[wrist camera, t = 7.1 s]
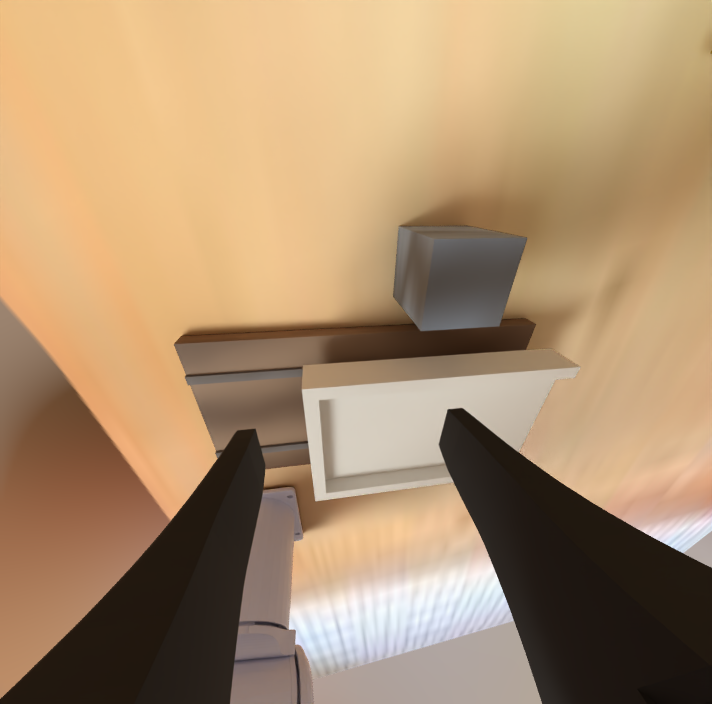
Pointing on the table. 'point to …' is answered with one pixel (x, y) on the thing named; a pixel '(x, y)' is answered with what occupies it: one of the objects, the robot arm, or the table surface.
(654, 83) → the table surface
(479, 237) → the block
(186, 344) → the track board
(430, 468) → the shallow rimmed tray
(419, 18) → the table surface
